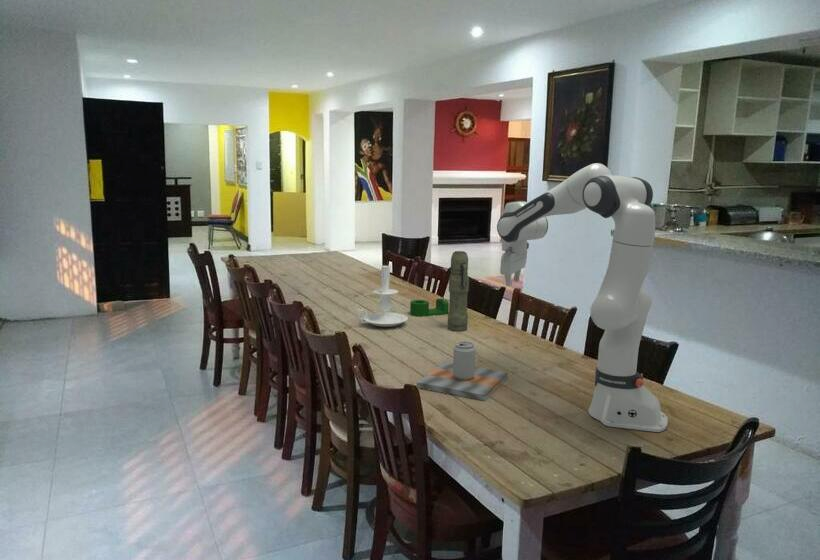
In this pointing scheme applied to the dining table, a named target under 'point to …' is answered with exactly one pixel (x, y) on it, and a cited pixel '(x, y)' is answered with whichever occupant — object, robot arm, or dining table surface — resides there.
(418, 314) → the slotted cylinder bracket
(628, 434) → the dining table surface
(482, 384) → the grey orange flat square
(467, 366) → the can
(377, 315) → the candlestick
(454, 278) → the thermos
